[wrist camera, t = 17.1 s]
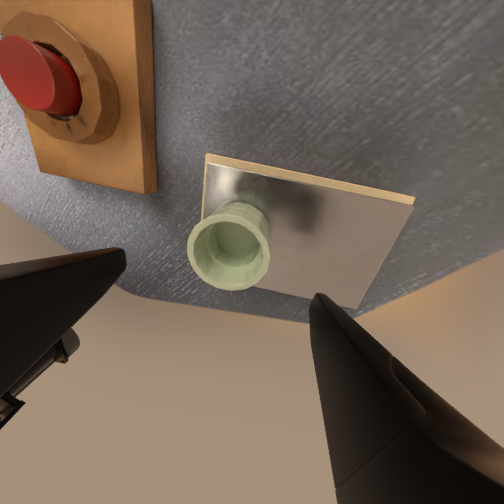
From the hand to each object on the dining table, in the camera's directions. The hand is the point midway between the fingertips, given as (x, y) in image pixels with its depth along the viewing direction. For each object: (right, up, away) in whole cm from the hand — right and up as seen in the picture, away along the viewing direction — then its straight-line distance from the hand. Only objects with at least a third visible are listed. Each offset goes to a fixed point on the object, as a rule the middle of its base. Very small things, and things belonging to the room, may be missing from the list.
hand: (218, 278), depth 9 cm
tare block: (-10, +13, +6) cm, 18 cm away
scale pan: (+5, +2, +6) cm, 8 cm away
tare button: (-11, +12, +3) cm, 16 cm away
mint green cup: (+1, +3, +6) cm, 6 cm away
